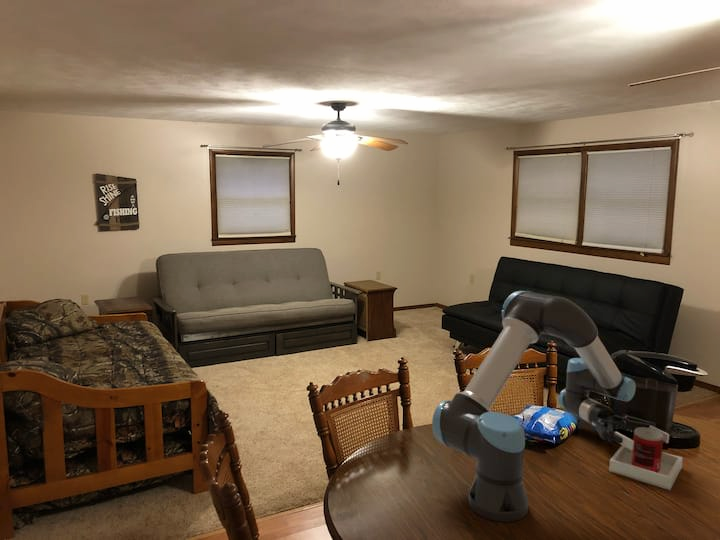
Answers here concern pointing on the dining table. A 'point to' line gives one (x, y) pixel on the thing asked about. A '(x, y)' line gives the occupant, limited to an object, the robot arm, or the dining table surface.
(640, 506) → the dining table surface
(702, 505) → the dining table surface
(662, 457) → the tray
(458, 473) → the dining table surface
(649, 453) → the canned food
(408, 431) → the dining table surface
